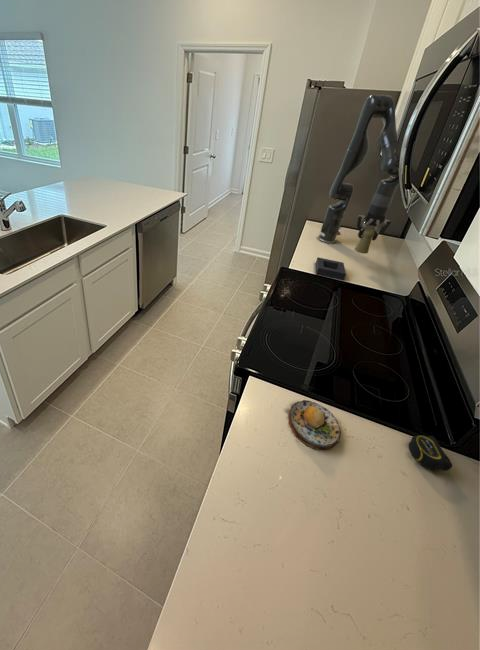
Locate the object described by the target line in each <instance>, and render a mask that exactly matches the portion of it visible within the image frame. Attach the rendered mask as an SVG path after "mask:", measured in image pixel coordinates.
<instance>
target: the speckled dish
mask: <svg viewBox="0 0 480 650" xmlns="http://www.w3.org/2000/svg"><path fill="white" fill-rule="evenodd" d="M287 418H288V423H287V424H288V426H289V428H290V430H291V431H292V434H293V435H294V436H295V437H296V438H297V439H298V440H299V441H300V442H302V443H303V444H304V445H306V446H307V447H309V448H312V449H315V450H319V451H328V450H332V449H333V448H335V447H336V446H337V444H338V443H339V441H340V439H341V436H342V430H341V426H340V423H339V420H337V418H336V417H335V415H334V414H333V413H332V412H331V411H330V410H329V409H328V408H327V407H324V406H323V405H320V404H319V403H317V402H315V401H311V400H308V399H307V400H306V399H302V400H301V401H297V402H294V403H293V404H292V405H291V406H290V408H289V411H288V413H287Z"/></svg>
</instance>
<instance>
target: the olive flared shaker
mask: <svg viewBox="0 0 480 650" xmlns="http://www.w3.org/2000/svg"><path fill="white" fill-rule="evenodd" d="M363 231H364V232H363V234H362V236H361V238H359V240H358V242H357V244H356V245H355V247H354V251H355V252H357V253H360V254H362V255H363V254H364V255H365V254H366V255H367V254H369V250H370V246H371V242H372V237H373V236H374V235H375V230H373V229H371V228H365V229H364V230H363Z"/></svg>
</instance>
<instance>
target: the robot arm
mask: <svg viewBox="0 0 480 650" xmlns="http://www.w3.org/2000/svg"><path fill="white" fill-rule="evenodd" d="M395 106H396V105H395V101H394V98H393V96H391V95H390V94H389V95H388V94H370V95H369V96H368V97H367V98H366V99H365V101H364V103H363V106H362V108H361V111H360V114H359V118H358V122H357V125H356V127H355V130H354V133H353V136H352V138H351V141H350V143H349V145H348V147H347V150H346V151H345V152H346V153H345V155H344V157H343V160H342V163H341V166H340V168H339V171H338V173H337V175H336V177H335V178H334V181H333V183H332V185H331V187H330V190H329V193H328V194H329V195H328V196H329V198H330V199H331V200H334V201H338V202H337V203H331V204H330V205H328V206H327V210H326V212H325V216H324V219H323V222H322V225H321V228H320V231H319V234H318V238H317V240H319V241H321V242H323V243H326V244H334V243H336V239H337V236H338V235H339V234H340V233H341V232H340V228H341V225H342V222H343V219H344V216H345V213H346V211H347V209H348V207H349V204H350V202H351V199H352V197H353V195H354V190H355V186H354V184H352V183H349V182H344V181H345V180H346V178H347V177H348V176H349V175H350V174H352V173H353V172H354V171H355V170H356V169H358V168H359V167H360V166H361V165H363V163H364V161H365V160H366V158H367V155H368V153H369V150H370V139H369V134H368V133H369V126H370V123H371V121H372V119H381V121H382V125H383V127H382V129H381V132H380V134H379V137H378V144H379V148H380V151H381V159H380V160H381V162H380V169H381V172H382V173H384V174H385V175H390V176H389V177H388V178H385V179H384V178H383V179H381V180H380V181H379V183H378V186H377V188H376V190H375V192H374V195H373V197H372V199H371V201H370V204H369V207H368V208H367V212H366V213H365V214H364V215H361V214H358V215H357V220H356V228H357V229H358V233H357V237H358V239H361V237H362V234H363V232H364V231H363V230H364V229H367V228H368V227H369V226H372V227H374V229H375V230H374V232H375V235H374V236H373V237H372V239H371V241H373V242H374V241H375V240H377V238H378V236H379V234H384V233H385V232H386V230H387V229H388V228H389V227H390V225H391V220H389V219H386V216H387V213H388V211H389V209H390V207H391V205H392V202H393V198H394V197H395V196H394V195H395V193H396V191H397V189H398V186H399V185H400V184H399V175H398V168H397V164H396V163H397V158H396V157H397V156H395V155H394V154H395V152H396V149H397V134H398V130H397V121H396V120H397V119H396V107H395ZM363 220H365V221H364V222H363V223H362V221H363ZM381 224H383V225H382V226H381V228H380V225H381Z"/></svg>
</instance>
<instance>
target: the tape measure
mask: <svg viewBox="0 0 480 650" xmlns="http://www.w3.org/2000/svg"><path fill="white" fill-rule="evenodd" d="M408 450H409V452H410V455H411V456H412V457H413V458H414V460H415V461H416V462H417V463H418V464H419V465H421V466H422V467H423V468H426V469H427V470H430V471H440V470H441V471H450V470H451V469H452V468H453V463H452V461H451V459H450V458H449V457H448V455H447V454H446V453H445V451H444V450H443V449H442V447H441V445H440V443H439V442H438V440H437V439H436V438H435V437H434V435H427V436H426V435H424V434H419V435H413V436H412V437H411V440H410V441H409V442H408Z"/></svg>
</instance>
